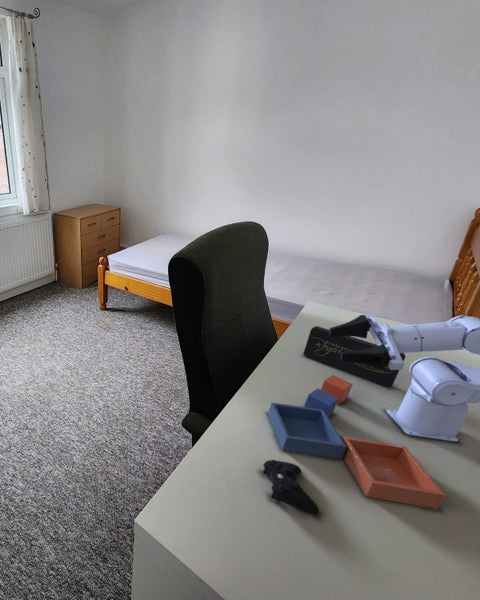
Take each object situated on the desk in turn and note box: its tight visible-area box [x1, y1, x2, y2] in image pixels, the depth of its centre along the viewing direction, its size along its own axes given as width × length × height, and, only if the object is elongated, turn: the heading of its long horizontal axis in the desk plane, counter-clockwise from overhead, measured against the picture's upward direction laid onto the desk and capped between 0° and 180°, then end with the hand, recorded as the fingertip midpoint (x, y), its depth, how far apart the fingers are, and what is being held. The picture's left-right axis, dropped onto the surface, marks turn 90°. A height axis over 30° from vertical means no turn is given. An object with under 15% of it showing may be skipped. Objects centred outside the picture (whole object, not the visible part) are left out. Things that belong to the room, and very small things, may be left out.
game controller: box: [262, 459, 320, 515], centre depth 62 cm, size 10×5×7 cm
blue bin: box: [267, 402, 346, 460], centre depth 74 cm, size 11×11×4 cm
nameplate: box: [302, 325, 406, 388], centre depth 95 cm, size 21×2×10 cm, turn 41°
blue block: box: [303, 388, 338, 418], centre depth 80 cm, size 4×4×4 cm
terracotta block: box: [320, 374, 353, 405], centre depth 85 cm, size 4×4×4 cm
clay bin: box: [341, 436, 447, 510], centre depth 64 cm, size 11×11×4 cm
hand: (335, 343), depth 76 cm, fingers open, 7 cm apart
